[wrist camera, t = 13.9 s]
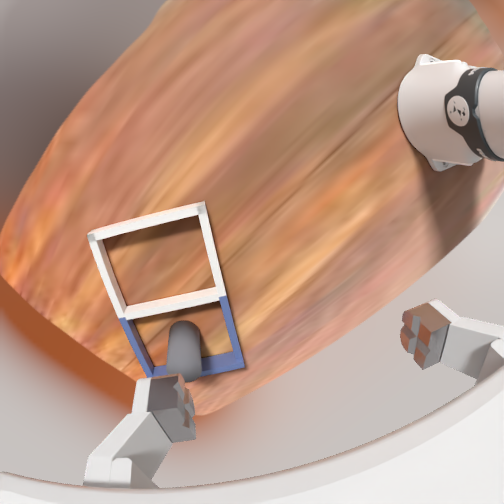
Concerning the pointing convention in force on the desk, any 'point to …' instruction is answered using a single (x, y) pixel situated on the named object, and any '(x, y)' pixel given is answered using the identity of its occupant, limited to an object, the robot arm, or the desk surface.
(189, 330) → the smooth grey pebble
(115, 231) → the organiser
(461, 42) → the desk surface
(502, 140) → the robot arm
